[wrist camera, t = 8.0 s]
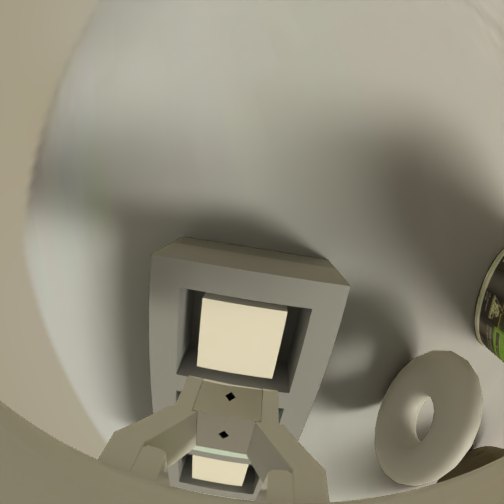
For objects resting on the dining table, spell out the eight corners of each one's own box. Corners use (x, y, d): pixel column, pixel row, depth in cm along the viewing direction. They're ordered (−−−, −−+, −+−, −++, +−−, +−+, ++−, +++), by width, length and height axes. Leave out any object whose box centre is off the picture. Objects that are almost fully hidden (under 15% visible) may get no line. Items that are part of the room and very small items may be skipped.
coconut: (507, 426, 20) (548, 484, 6) (443, 487, 23) (468, 548, 9) (473, 416, 19) (528, 499, 5) (392, 488, 22) (416, 571, 8)
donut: (414, 322, 17) (491, 404, 8) (444, 330, 17) (518, 402, 8) (354, 420, 20) (382, 513, 10) (385, 423, 20) (419, 506, 10)
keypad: (182, 236, 17) (151, 254, 12) (328, 259, 17) (350, 286, 12) (176, 445, 21) (162, 483, 16) (269, 461, 21) (268, 501, 16)
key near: (210, 284, 15) (202, 297, 13) (285, 296, 15) (287, 311, 13) (204, 347, 16) (196, 366, 14) (271, 358, 16) (272, 378, 14)
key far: (198, 434, 18) (192, 453, 16) (250, 443, 17) (249, 463, 15) (196, 460, 18) (192, 477, 16) (243, 468, 18) (241, 486, 16)
